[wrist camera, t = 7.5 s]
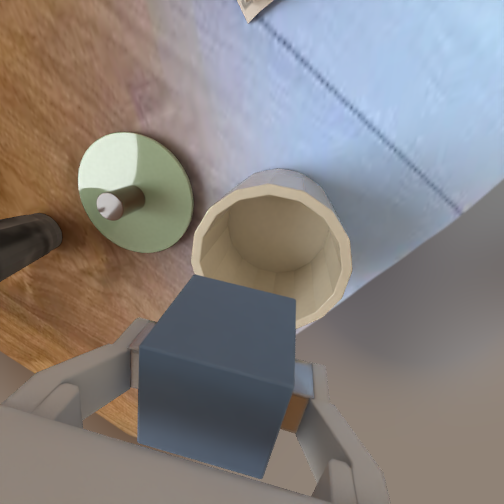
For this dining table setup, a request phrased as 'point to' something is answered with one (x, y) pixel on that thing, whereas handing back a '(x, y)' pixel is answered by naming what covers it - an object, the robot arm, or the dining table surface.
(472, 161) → the dining table surface
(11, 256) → the beverage cup
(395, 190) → the dining table surface
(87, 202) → the lid
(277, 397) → the block
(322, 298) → the jar
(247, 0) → the newspaper
